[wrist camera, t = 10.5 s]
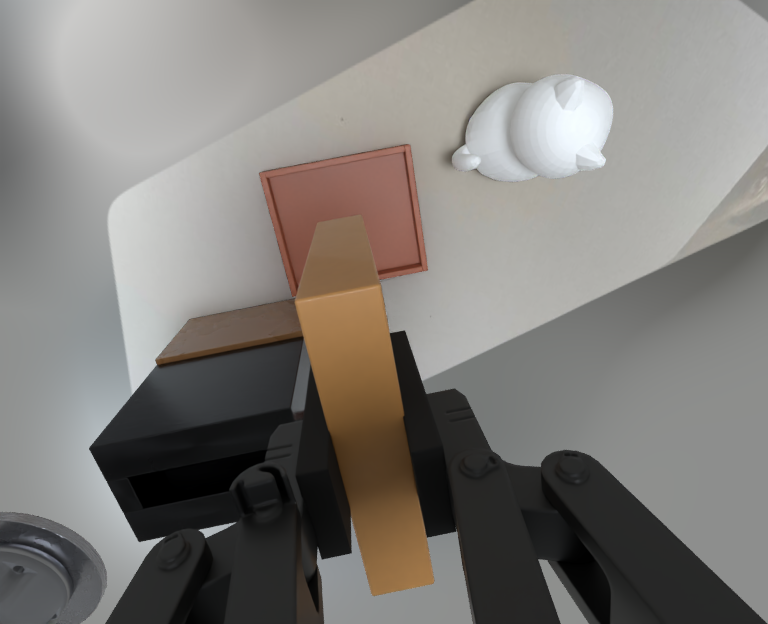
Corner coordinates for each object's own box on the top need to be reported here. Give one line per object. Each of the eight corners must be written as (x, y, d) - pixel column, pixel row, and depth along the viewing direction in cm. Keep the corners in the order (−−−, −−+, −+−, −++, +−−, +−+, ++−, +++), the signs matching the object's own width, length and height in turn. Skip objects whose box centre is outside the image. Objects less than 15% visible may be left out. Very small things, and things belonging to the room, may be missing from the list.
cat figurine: (564, 150, 47) (658, 155, 33) (459, 205, 48) (507, 232, 34) (538, 65, 44) (630, 30, 30) (425, 125, 45) (463, 119, 31)
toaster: (216, 392, 54) (141, 547, 33) (189, 319, 50) (84, 442, 30) (343, 367, 54) (344, 505, 34) (325, 292, 50) (314, 396, 30)
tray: (294, 290, 50) (292, 297, 48) (262, 171, 45) (258, 173, 43) (424, 265, 50) (428, 270, 48) (407, 144, 45) (410, 144, 43)
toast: (316, 222, 19) (293, 300, 10) (361, 213, 19) (381, 284, 10) (359, 411, 23) (372, 597, 14) (397, 404, 23) (435, 584, 14)
